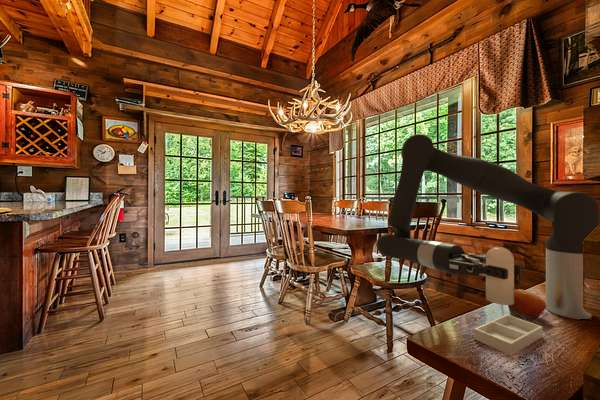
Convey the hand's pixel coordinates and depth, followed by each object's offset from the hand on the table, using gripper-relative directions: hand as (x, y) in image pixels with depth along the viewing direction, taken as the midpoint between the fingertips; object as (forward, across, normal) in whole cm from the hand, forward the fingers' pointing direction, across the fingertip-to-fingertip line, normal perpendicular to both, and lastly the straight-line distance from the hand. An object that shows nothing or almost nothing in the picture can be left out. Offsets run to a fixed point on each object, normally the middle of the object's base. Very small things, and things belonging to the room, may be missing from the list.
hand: (513, 272), depth 57 cm
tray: (-2, +4, +16) cm, 17 cm away
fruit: (-6, +20, +17) cm, 27 cm away
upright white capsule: (-3, 0, +7) cm, 7 cm away
